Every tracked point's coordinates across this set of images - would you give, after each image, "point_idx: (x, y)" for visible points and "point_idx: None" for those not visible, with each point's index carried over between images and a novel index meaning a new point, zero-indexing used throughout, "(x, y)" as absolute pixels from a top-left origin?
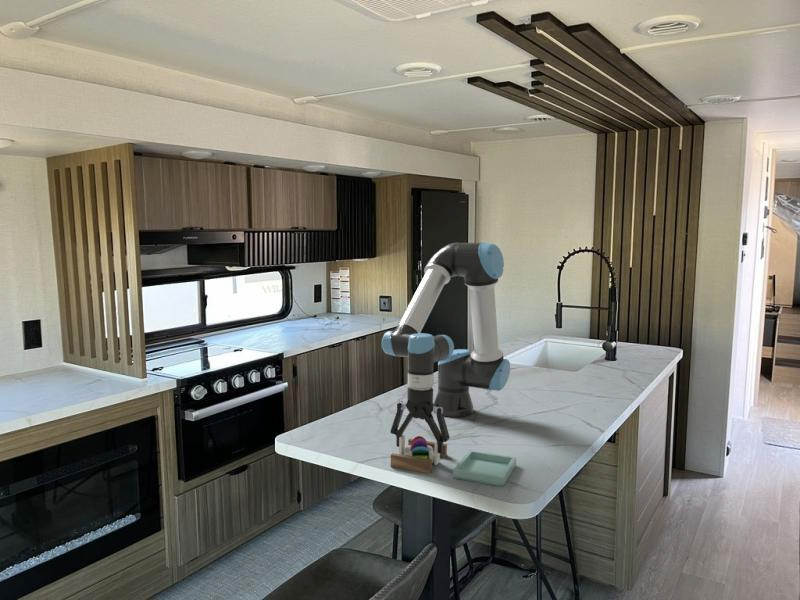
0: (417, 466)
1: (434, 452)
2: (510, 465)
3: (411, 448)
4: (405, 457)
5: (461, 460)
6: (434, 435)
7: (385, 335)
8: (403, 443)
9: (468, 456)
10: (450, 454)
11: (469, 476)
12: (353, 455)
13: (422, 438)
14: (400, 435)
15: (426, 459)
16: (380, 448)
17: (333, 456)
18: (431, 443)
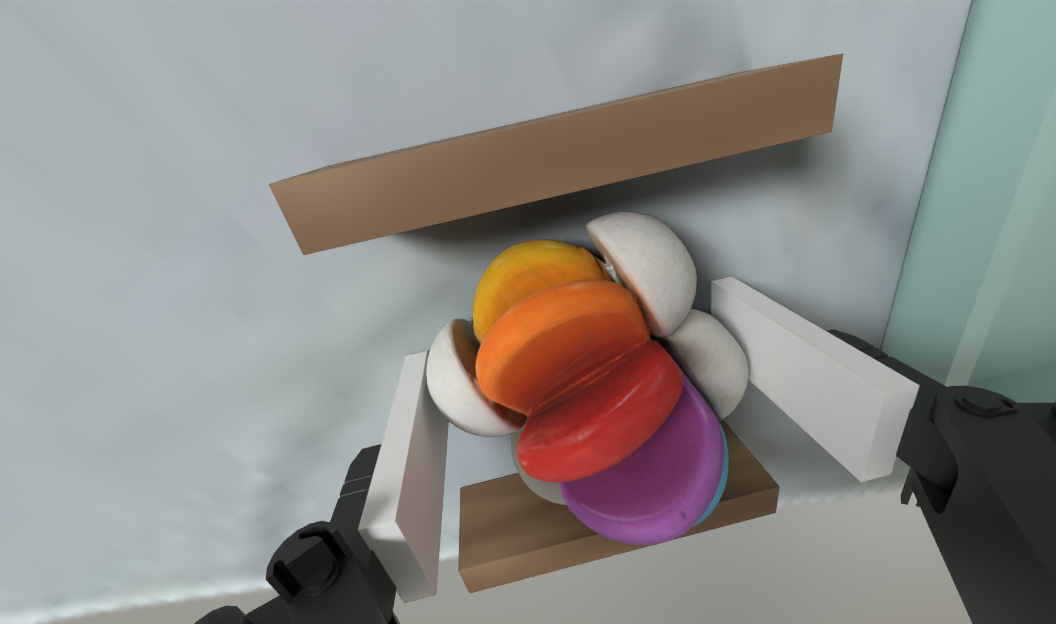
0: None
1: (777, 405)
2: None
3: (515, 417)
4: (588, 560)
5: (978, 305)
6: (958, 571)
7: None
8: (425, 472)
9: (1046, 167)
10: (768, 18)
11: None
12: (116, 541)
13: (653, 432)
14: (391, 602)
15: (742, 506)
16: (88, 330)
17: (48, 614)
18: (640, 173)
